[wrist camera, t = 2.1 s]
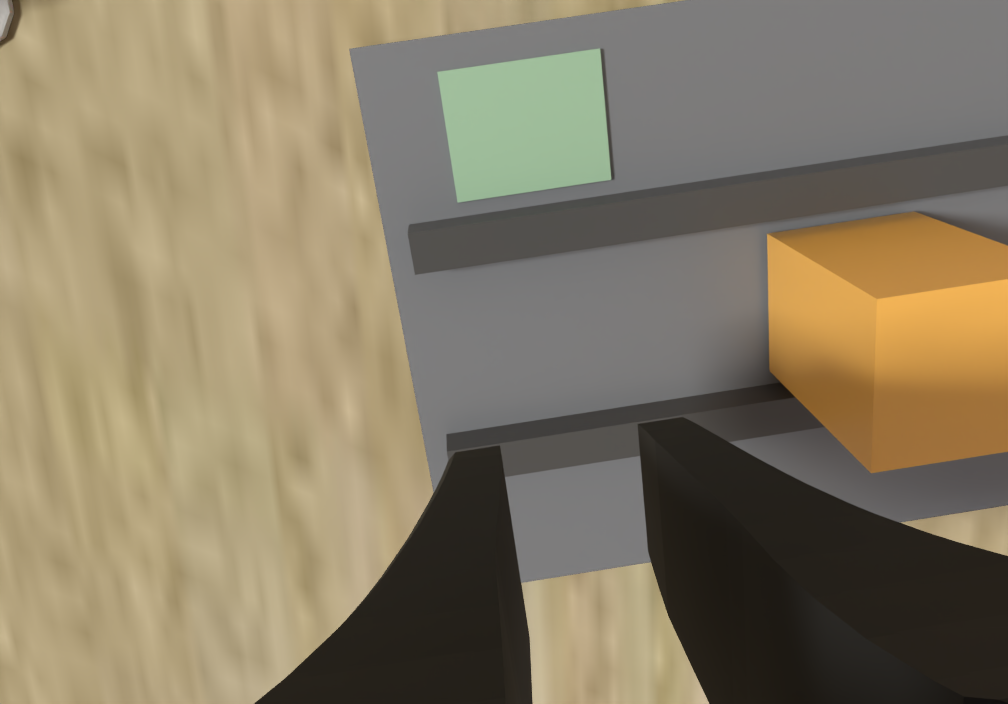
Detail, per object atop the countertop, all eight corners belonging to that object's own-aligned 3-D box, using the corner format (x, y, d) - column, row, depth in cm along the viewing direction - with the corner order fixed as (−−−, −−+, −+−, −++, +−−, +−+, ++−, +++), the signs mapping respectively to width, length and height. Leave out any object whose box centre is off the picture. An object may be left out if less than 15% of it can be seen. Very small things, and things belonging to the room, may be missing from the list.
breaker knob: (907, 350, 18) (1050, 444, 13) (769, 371, 18) (871, 472, 13) (914, 211, 16) (1072, 269, 12) (767, 233, 16) (876, 299, 12)
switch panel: (1107, 419, 22) (1233, 491, 19) (451, 522, 22) (453, 615, 18) (1180, -72, 18) (1362, -98, 14) (363, 47, 18) (344, 49, 14)
